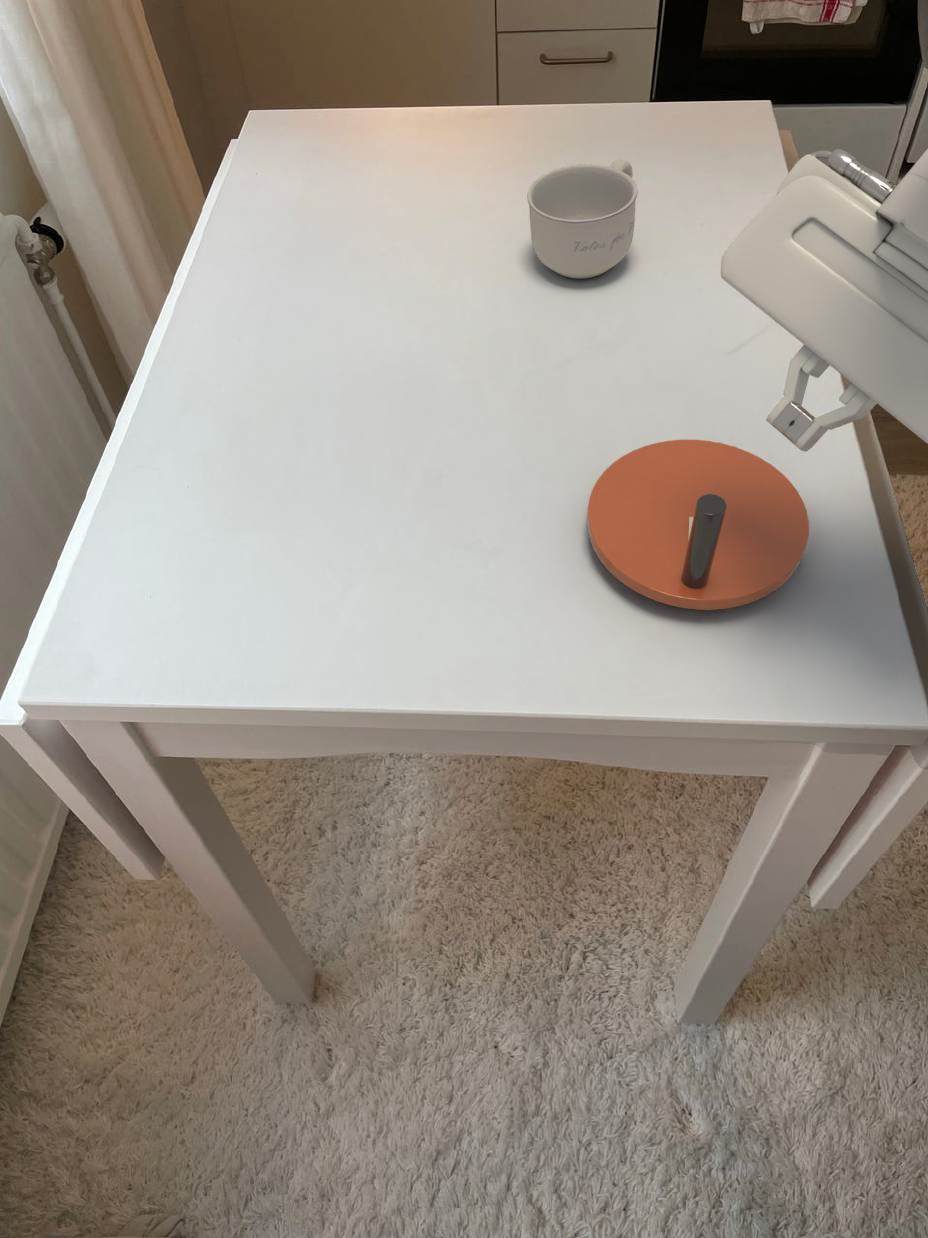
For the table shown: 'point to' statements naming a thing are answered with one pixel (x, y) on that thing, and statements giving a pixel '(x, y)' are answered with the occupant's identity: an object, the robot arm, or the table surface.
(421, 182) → the table surface
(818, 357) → the robot arm
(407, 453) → the table surface
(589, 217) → the teacup
